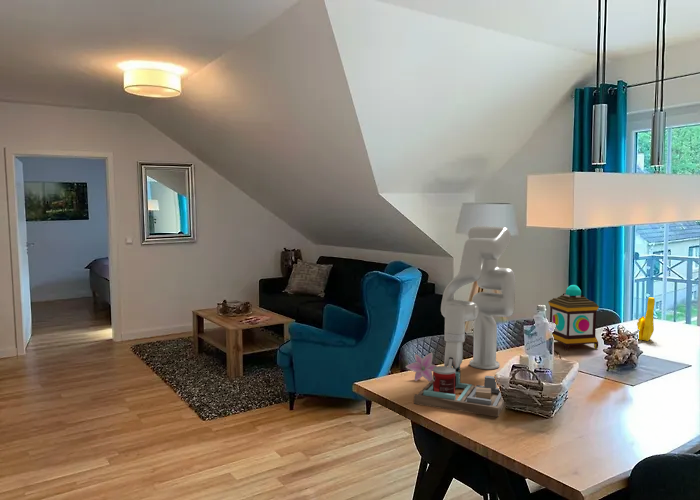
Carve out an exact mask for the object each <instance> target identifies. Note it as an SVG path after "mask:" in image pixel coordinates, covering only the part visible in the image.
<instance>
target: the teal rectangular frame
mask: <svg viewBox="0 0 700 500" xmlns="http://www.w3.org/2000/svg"><path fill="white" fill-rule="evenodd" d="M455 376H456V387H455V389H463V391H462V392H461V394H460V395H459V396H458V397H457V394H456V393H455V394H449V393H442V392H435V391H433V385H432V386H431V387H430V388H429V389H428V390H424V394H423V395H425V396H432V397H439V398H445V399H452V400H459V401H461V400H462V398H463V397H464V395H465V394H466V393H467V391H468V390H469V389H470V387H471V386H472V385H473V384H471V383H463V382H461V371H460V372H456V375H455ZM456 397H457V399H456Z"/></svg>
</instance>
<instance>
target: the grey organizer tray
mask: <svg viewBox="0 0 700 500" xmlns="http://www.w3.org/2000/svg"><path fill="white" fill-rule="evenodd" d="M494 377H495V376H492V375H485V376H484V384H483V385H479V384H476V385H475V388H474V390H473V391H472V393H471V394H470V395H469V396H468V397H467V400H466V401H465V402H472V403H479V404H486V405H492V406H497V405H498V403H499V401H500V399H501V397H502V396H501V393H500V391H499V388H500V387H497V386H498V385H497V384H496V382H495V378H494ZM476 387H480V388H491V394H498V395H497V397H496V398H495V400H494V401H492V399H491V400H490V399H484V398H477V397H476Z"/></svg>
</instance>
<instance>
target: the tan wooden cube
mask: <svg viewBox="0 0 700 500" xmlns="http://www.w3.org/2000/svg"><path fill="white" fill-rule="evenodd" d="M475 387H476V386H475ZM475 397H477V398H484V399H490V400H492V392H491V388H480V387H476V396H475Z"/></svg>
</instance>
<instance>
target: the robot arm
mask: <svg viewBox="0 0 700 500" xmlns="http://www.w3.org/2000/svg"><path fill="white" fill-rule="evenodd" d="M467 237H468V239H467V240H466V241H465V243H464V245H463V250H462V256H461V260H460V265H459V270H458V274H457V275H456V276H455V277H453V278H452V279H451V280H450V281H449V282H448V284H447V285H446V287H445V289H444V290H443V294H442V299H441V304H440V312H441V315H442V316H443V318H444V341H445V348H444V362H443V366H447V367H451V368H454V369H455V375H456V372H460V373H461V365H462V362H463V357H464V356H463V355H464V354H463V351H464V349H463V343H464V342H465V341H466V340H465V339H466V322H472V321H473V353H472V354H473V355H472V356H473V358H472V359H470V360H469V366H470V367H472V368H474V369H480V370H496V369H499V368H500V366H501V364H500V361H497V342H498V341H497V335H498V330H497V329H498V327H497V322H496V320H495V318H494V317H503V318H508V317H509V318H510V317H512V315H513V314H514V311H515V306H516V305H515V303H516V283H517V282H516V280H517V279H516V275H515V272H514V271H513V270H512V269H511V268H509V267H508V268H507V267H499V259H500V258H501V257H502V255H503V254H504V253H505V251H506V249H508V247H509V245H510V242H511V237H512V236H511V231H510V230H509V228H507V227H505V226H487V225H486V226H485V225H480V226H479V225H477V226H476V225H475V226H472V227H470V228H469V230H468V235H467ZM474 282H476V284H477V285H476V286H478V287H479V288H480V289H482V290H483V289H484V290H491V291H492V290H493V291H501V293H497V292H486V291H480V292H477V293H475V294H473V296H472V299H471V300H472V301H468V300H461V299H453V297H454V295H455V293H456V292H457V291H458V290H459V289H460V288H462V287H464V286H467V285H468V284H472V283H474ZM455 388H456V376H455Z"/></svg>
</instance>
